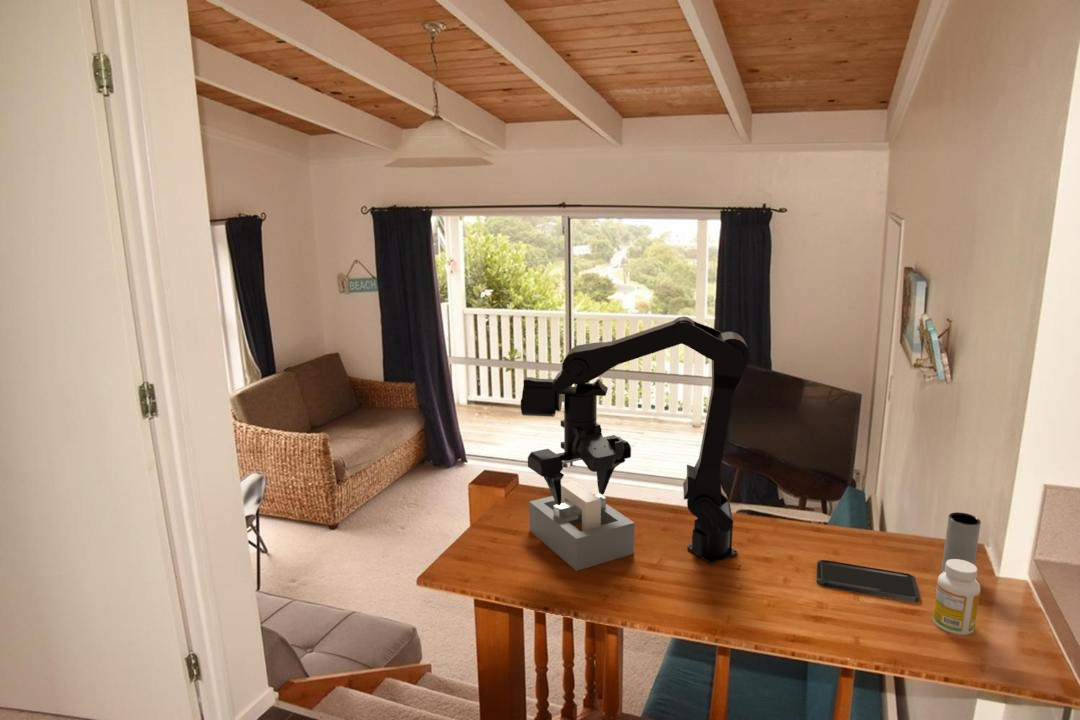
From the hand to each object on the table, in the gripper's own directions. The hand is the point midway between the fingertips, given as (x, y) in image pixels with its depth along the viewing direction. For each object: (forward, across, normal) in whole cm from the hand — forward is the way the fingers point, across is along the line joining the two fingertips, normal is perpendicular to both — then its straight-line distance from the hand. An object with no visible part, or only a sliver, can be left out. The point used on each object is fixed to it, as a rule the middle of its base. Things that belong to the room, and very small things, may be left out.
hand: (580, 499), depth 128 cm
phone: (+9, +34, -35) cm, 49 cm away
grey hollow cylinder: (+9, +48, -41) cm, 64 cm away
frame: (+8, 0, 0) cm, 8 cm away
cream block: (+6, 0, 0) cm, 6 cm away
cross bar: (+2, 0, 0) cm, 2 cm away
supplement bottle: (+9, +34, -49) cm, 60 cm away
